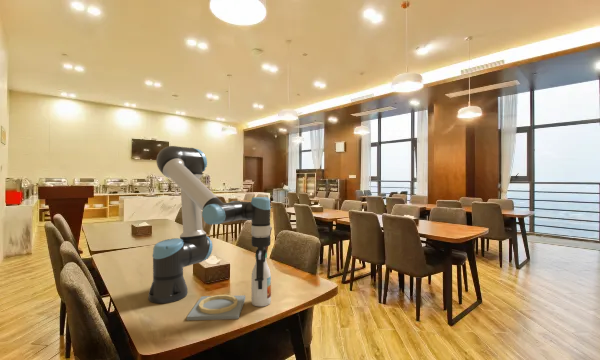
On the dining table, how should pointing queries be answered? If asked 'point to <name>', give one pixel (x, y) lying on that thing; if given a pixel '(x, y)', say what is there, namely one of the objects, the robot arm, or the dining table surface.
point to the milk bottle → (267, 286)
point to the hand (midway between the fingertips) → (261, 292)
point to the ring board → (217, 307)
